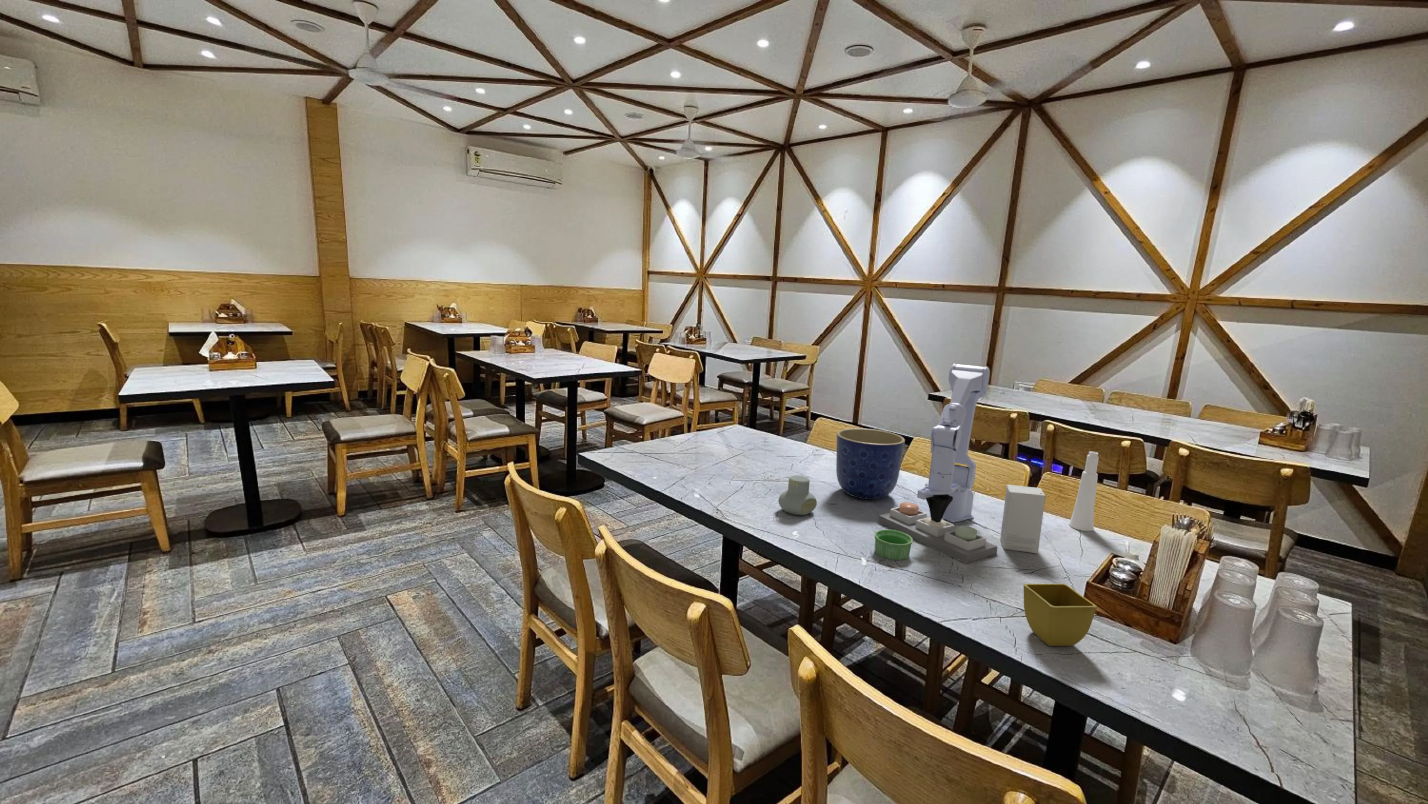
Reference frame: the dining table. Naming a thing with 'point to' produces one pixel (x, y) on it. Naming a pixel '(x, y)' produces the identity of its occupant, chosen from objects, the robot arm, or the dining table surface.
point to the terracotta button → (908, 509)
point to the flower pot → (1057, 613)
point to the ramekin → (892, 544)
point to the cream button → (935, 523)
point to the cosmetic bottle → (1086, 496)
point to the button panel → (938, 536)
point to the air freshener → (797, 497)
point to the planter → (868, 462)
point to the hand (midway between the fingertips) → (935, 521)
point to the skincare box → (1022, 518)
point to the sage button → (966, 533)
